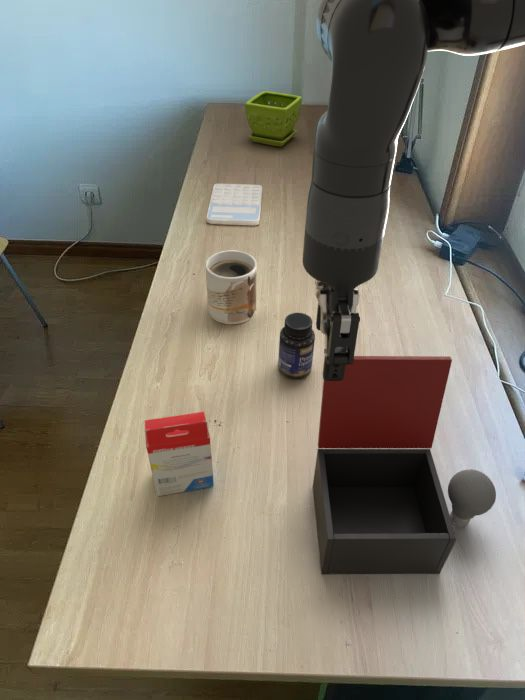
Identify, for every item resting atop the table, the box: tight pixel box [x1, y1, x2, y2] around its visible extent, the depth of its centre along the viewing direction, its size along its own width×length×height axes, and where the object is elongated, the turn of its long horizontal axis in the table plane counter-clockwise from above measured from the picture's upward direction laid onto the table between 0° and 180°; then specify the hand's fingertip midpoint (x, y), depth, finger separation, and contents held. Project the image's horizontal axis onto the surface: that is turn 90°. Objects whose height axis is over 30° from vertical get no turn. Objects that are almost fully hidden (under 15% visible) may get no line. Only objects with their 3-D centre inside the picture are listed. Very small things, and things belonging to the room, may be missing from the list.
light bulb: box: [447, 468, 497, 528], centre depth 76 cm, size 6×6×10 cm
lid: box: [317, 355, 453, 449], centre depth 73 cm, size 14×16×1 cm
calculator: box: [205, 183, 263, 227], centre depth 146 cm, size 13×20×2 cm, turn 178°
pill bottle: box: [277, 312, 316, 380], centre depth 98 cm, size 6×6×11 cm
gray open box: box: [312, 448, 457, 575], centre depth 75 cm, size 14×16×9 cm
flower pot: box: [244, 90, 303, 148], centre depth 177 cm, size 14×14×13 cm
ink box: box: [144, 411, 215, 497], centre depth 79 cm, size 8×5×15 cm, turn 102°
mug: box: [204, 249, 258, 325], centre depth 111 cm, size 10×12×11 cm
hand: (328, 352), depth 64 cm, fingers open, 8 cm apart
